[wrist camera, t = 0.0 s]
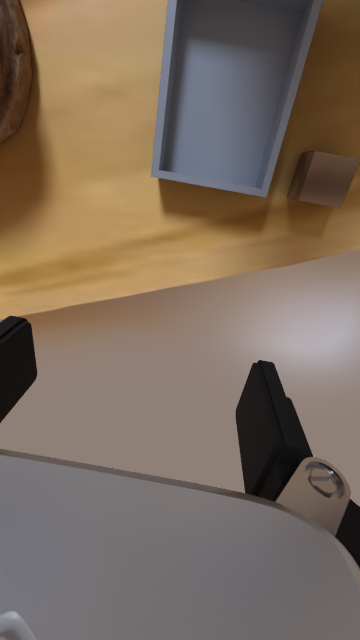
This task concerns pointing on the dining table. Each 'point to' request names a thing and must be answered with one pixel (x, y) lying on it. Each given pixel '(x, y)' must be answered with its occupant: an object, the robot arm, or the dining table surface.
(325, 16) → the dining table surface
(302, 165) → the walnut cube
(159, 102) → the tote
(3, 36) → the container
